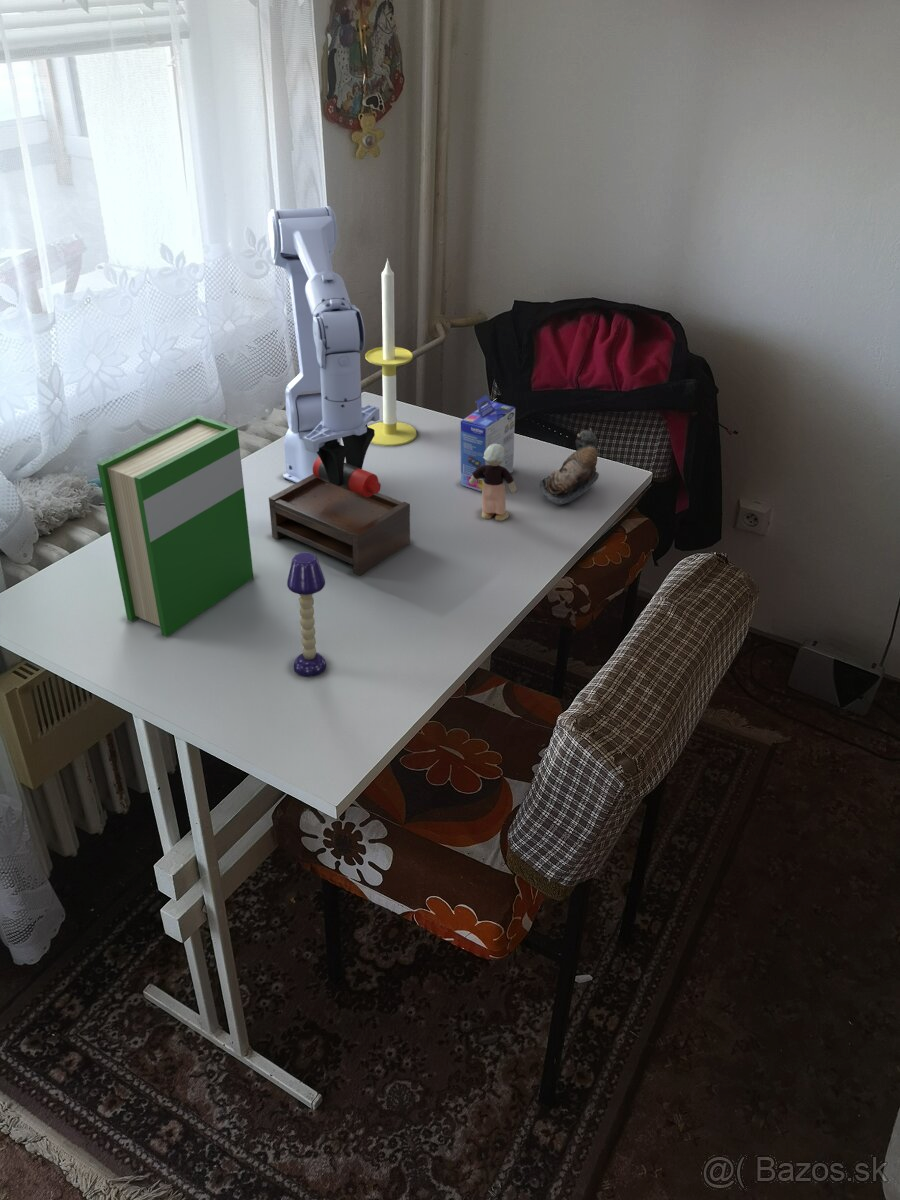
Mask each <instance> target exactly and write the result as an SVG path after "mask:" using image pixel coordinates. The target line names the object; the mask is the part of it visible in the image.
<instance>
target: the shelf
mask: <svg viewBox="0 0 900 1200" xmlns="http://www.w3.org/2000/svg"><path fill="white" fill-rule="evenodd" d="M268 505H269V517H270V528H271V537H272V538H273V539H276V540H279V539H281V538H283V537H284V536H287V537H290V538H292V539H294V540H296V541H299V542H301V543H303V544H305V545H308V546H309V547H312V548H314V549H316V550H319V551H321V552H323V553H325V554H328V555H329V556H332V557H335V558H336V559H339V560H341V561H344V562H345V563H348V564H351V565H353V574H354V575H356V576H359V577H361V576H362V575H364V574H365V573H367V572H369V571H370V570H372V569H373V568H374V567H377V565H379V564H380V563H381V562H384V561H385V560H386V559H388V558H389V557H391V556H393V555H394V554H396V553H397V552H399V551H400V550H402V549H404V548H405V547H406V546H407V545H409V544H410V543H411V504H410V503H408V502H406V501H401V500H398V499H396V498H393V497H391V496H388V495H386V494H383V493H381V492H378V493H377V494H373V495H372V496H371V497H365V496H362V495H360V494H357V493H355V492H351V491H349V490H346V489H344V488H341V487H338V486H336V485H333V484H331V483H328V482H326V481H323V480H321V479H319V478H317V477H315V476H314V474H312V475H310V476H309V477H307V478H305V479H303V480H301V481H299V482H297V483H296V482H294V484H292V485H290V486H288V487H286V488H284V489H282V490H281V491H279V492H277V493H275V494H273V495H271V496H269V497H268Z"/></svg>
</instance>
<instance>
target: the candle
mask: <svg viewBox="0 0 900 1200" xmlns="http://www.w3.org/2000/svg"><path fill="white" fill-rule="evenodd" d="M381 303H382V304H381V312H382V313H381V315H382V319H381V320H382V321H381V322H382V346H379V347H374V348H372V349H370V350H367V352H366V353H365V355H364V357H365V360H366V361H367V362H368V363H370V364H372V365H374V366H381V369H382V370H381V371H382V373H381V375H382V421H380V422H375V423H372V424H370V425H367V427H369V428H372V429H374V431H375V436H374V438H373V439H372V441H371V443H370V444H373V445H375V446H381V447H397V446H404V445H407V444H408V443H411V442H413V441H414V440H415V439H416V438H417V429H416V428H414V427H413V426H412V425H410V424H408V423H405V422H401V421H398V420H397V367H398V366H404V365H406V364H409V363H411V361H413V352H411V351H410V350H408V349H406V348H404V347H399V346H396V345H395V343H396V342H395V340H396V339H395V336H396V335H395V273H394V271H393V270H392V268H391V265H390V261H389V258H388V257H387V258H386V262H385V266H384V269H383V271H381Z"/></svg>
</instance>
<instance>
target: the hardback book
mask: <svg viewBox="0 0 900 1200" xmlns="http://www.w3.org/2000/svg"><path fill="white" fill-rule="evenodd" d="M240 447H241V446H240V437H239V429H238V427H236V426H233V425H230V424H227V423H224V422H221V421H219V420H218V421H217V420H214V419H211V418H208V417H206V416H202V415H199V414H195V415H193V416H190V417H189V418H187V419H185V420H183V421H180V422H179V423H176V424H174V425H173V426H170V427H168V428H166V429H165V430H162V431H160V432H158V433H156V434H154V435H151V436H149V437H148V438H146V439H144V440H142V441H140V442H138V443H136V444H134V445H132V446H130V447H128V448H126V449H124V450H122V451H119V452H118V453H116V454H114V455H111V456H109V457H108V458H105V459H103V460H101V461H99V462H97V463H96V465H97V471H98V476H99V481H100V486H101V492H102V496H103V502H104V506H105V513H106V517H107V522H108V527H109V532H110V538H111V542H112V547H113V553H114V557H115V562H116V567H117V573H118V579H119V583H120V588H121V593H122V599H123V603H124V608H125V615H126V619H127V620H128V621H130V622H132V623H133V622H134V621H136V620H137V619H142V620H145V621H147V622H149V623H151V624H153V625H155V626H158V627H159V628H160V634H161V636H162V637H165V638H168V637H169V636H171V635H172V634H173V633H175V632H177V631H178V630H180V629H181V628H183V627H184V626H186V625H187V624H189V622H191V621H192V620H194V619H196V618H197V617H199V616H200V615H201V614H203V613H204V612H205V611H207V610H208V609H210V608H211V607H213V606H215V605H216V604H217V603H219V602H221V601H222V600H223V599H225V598H226V597H228V596H229V595H230V594H232V593H233V592H234V591H236V590H238V589H239V588H240V587H242V586H243V585H245V584H247V583H248V582H249V581H251V580H253V579H254V570H253V560H252V559H253V558H252V550H251V541H250V532H249V522H248V513H247V503H246V502H247V501H246V493H245V485H244V476H243V475H244V474H243V467H242V456H241V448H240Z"/></svg>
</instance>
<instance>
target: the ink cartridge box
mask: <svg viewBox="0 0 900 1200" xmlns="http://www.w3.org/2000/svg"><path fill="white" fill-rule="evenodd" d="M484 402H486V403H485V404H483V403H484ZM482 404H483V405H482ZM475 405H476V407H477V409H476V410H474V411H473V412H472V413H470V414H469V415H467V416H466V417H464V418H463V419H461V420H460V485H461V486H463V487H466V488H468V489H472V490H474V491H478V492H481V493H482V489H483V482H484V479H485V478H481V479H477V480H476V482H475V484H473V485H472V484H470V483H469V480H470V479H471V477H472V475H473V474H472V473H473V472H474V471H475V470H476V469H477V468H479V467H480V466H483V465H490V464H489V463H488V462H487V461H486V460H485V459H484V458H483V457H484V452H485V450H486V449H487V448H488V447H489V446H490V445H492V444H495V443H496V444H500V445H502V447H504V452H505V453H504V458H503V461H502V463H501V464H500V466H502V467H504V468H506V469H507V470H508V471H509V473H510V474H511V473H513V471H514V459H515V458H514V455H515V454H514V453H515V427H516V426H515V425H516V407H515V406H512V405H507V404H504V403H501V402H497V401H493V400H490V398H489V396H488V395H487V394H485V395H484V396H482V397H481V398H479V399H478V400H476V401H475Z"/></svg>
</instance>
